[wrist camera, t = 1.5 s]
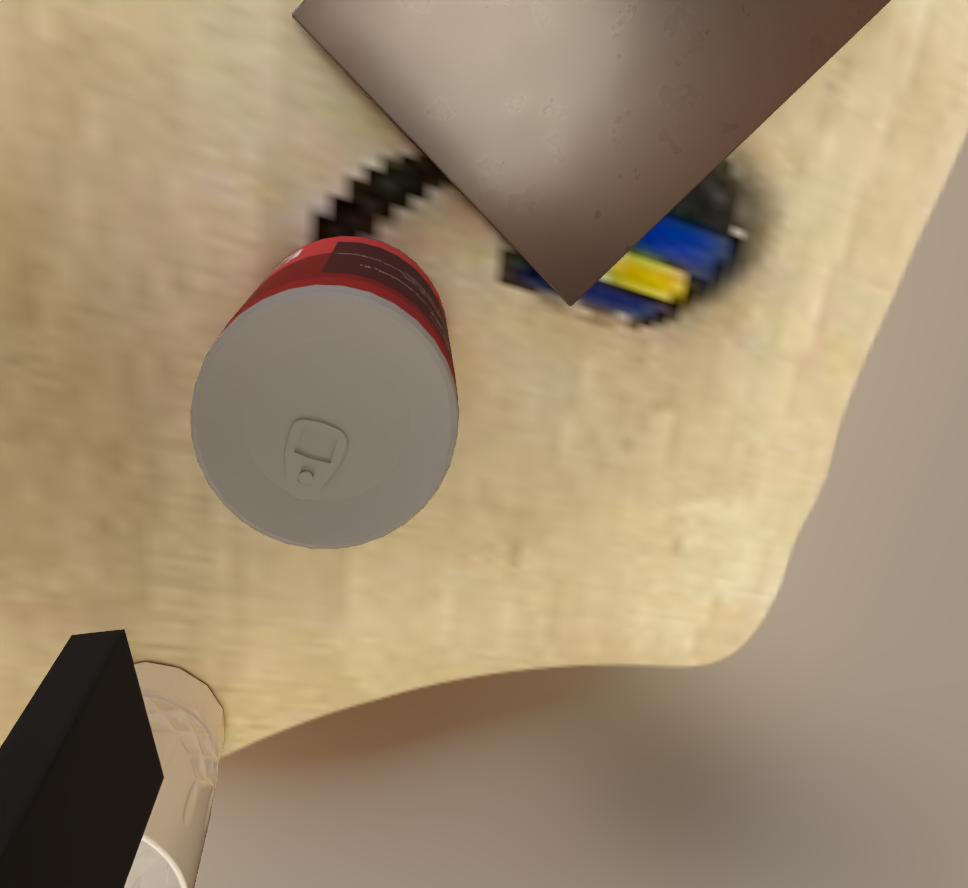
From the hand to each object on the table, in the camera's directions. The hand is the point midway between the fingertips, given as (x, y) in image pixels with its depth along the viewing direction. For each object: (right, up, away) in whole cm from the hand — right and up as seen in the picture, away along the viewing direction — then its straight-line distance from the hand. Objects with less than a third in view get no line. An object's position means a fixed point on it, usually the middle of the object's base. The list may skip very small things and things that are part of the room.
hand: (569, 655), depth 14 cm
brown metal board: (+3, +19, +18) cm, 27 cm away
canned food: (-7, +8, +22) cm, 24 cm away
